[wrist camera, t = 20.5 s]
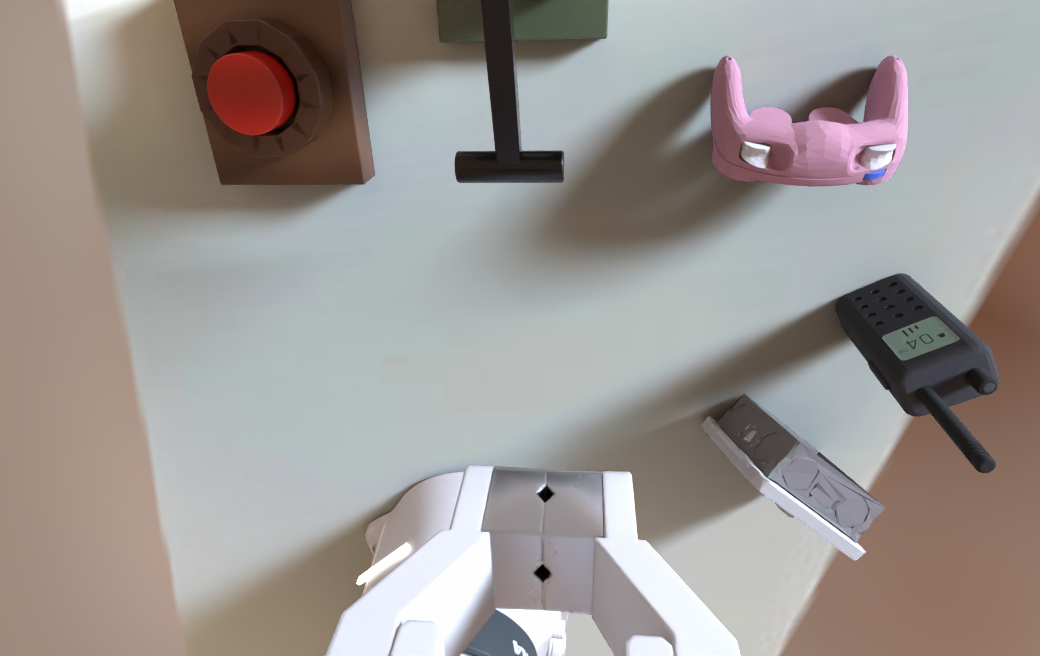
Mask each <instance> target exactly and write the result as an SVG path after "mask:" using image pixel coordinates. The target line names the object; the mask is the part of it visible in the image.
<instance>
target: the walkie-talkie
mask: <svg viewBox="0 0 1040 656" xmlns="http://www.w3.org/2000/svg"><path fill="white" fill-rule="evenodd" d="M836 311H837V314H838V316H839V319H840V321H841V324H842V326H843V328H844V331H845V333H846V334H847V335H848V337H849V338H850V339H851V341H852V342H853V343H854V345H855V346H856V347H857V349H858V350H859V351H860V353H861V354H862V355H863V357H864V358H865V359H866V360H867V362H868V365H869V367H870V369H871V371H872V372H873V373H874V375H875V376H876V377H877V379H878V380H879V381H880V383H881V384H882V385H883V387H884V388H885V389H886V390H889V391H890V392H891V394H892V395H893V396H894V398H895V399H896V400H897V402H898V403H899V404H900V406H901V407H902V408H903V410H904V411H905V412H906V413H907V414H909V415H911V416H923V415H926V414H930V413H931V414H932V416H933V417H934V418H935V419H936V421H937V422H938V423H939V424H940V425H941V427H942V428H943V429H944V431H945V432H946V433H947V434H948V436H949V437H950V438H951V439H952V440H953V441H954V443H955V444H956V445H957V447H958V448H959V449H960V450H961V452H963V454H964V455H965V457H966V458H967V459H968V460H969V461H970V463H971V464H972V465H973V466H974V467H975V469H976V470H977V471H979V472H981V473H988V472H991V471H992V470H994V468H995V467H996V462H995V460H994V459H993V458H992V457H991V456H990V455H989V454H988V452H987V451H986V450H985V449H984V448H983V447H982V445H981V444H980V443H979V442H978V441H977V440H976V438H975V437H974V436H973V435H972V434H971V433H970V432H969V430H968V429H967V428H966V427H965V426H964V425H963V423H962V422H961V421H960V420H959V419H958V418H957V417H956V415H955V414H954V413H953V412H952V411H951V410H950V408H949V407H950V406H953V405H956V404H959V403H961V402H964V401H967V400H970V399H973V398H976V397H979V396H982V395H987V394H991V393H993V392H994V391H995V390H996V389H997V387H998V384H999V375H998V371H997V368H996V365H995V362H994V358H993V355H992V352H991V349H990V348H989V346H987V344H985V343H984V342H983V341H982V340H981V339H980V338H979V337H978V336H977V335H975V334H974V333H973V332H972V331H971V330H970V329H969V328H968V327H966V326H965V325H964V324H963V323H962V322H961V321H960V320H958V319H957V318H956V317H955V316H954V315H953V314H952V313H951V312H949V311H948V310H947V309H946V308H945V307H944V306H943V305H942V304H940V303H939V302H938V301H937V300H936V299H935V298H934V297H933V296H931V295H930V294H929V293H928V292H927V291H926V290H925V289H923V288H922V287H921V286H920V285H919V284H918V283H917V282H916V281H914V280H913V279H912V278H911V277H910V276H908V275H906V274H896V275H893V276H891V277H888V278H886V279H884V280H881V281H879V282H876V283H874V284H872V285H869V286H867V287H864V288H862V289H860V290H857V291H855V292H852V293H850V294H848V295H845V296H843V297H842V298H840V299H839V300H838V301H837V303H836Z"/></svg>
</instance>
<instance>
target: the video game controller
mask: <svg viewBox="0 0 1040 656" xmlns="http://www.w3.org/2000/svg"><path fill="white" fill-rule="evenodd" d="M710 106H711V127H712V137H713V147H714V148H713V153H712V164H713V166H714V167H715V169H716V170H717V171H719V172H720V173H721V174H723V175H724V176H727V177H729V178H731V179H734V180H738V181H744V182H752V181H759V180H762V181H766V182H772V183H778V184H785V185H797V186H835V185H847V184H852V183H856V184H861V185H875V184H879V183H883V182H885V181H886V180H888V179H889V178H890V177H891V176H892V175H893V173H894V171H895V169H896V167H897V166H898V164H899V162H900V160H901V158H902V156H903V154H904V148H905V145H906V140H907V132H908V85H907V73H906V69H905V67H904V65H903V63H902V61H901V60H900V59H899V58H898V57H896V56H887V57H886V58H885V59H884V60H883V61H882V62H881V63H880V65H879V66H878V68H877V70H876V72H875V74H874V76H873V78H872V81H871V84H870V87H869V91H868V96H867V101H866V106H865V113H864V122H863V123H858V122H857V121H855V120H854V119H853V118H852V117H850V116H849V115H848V114H847V113H846V112H844V111H842V110H840V109H837V108H832V107H822V108H818V109H815V110H813V111H812V112H811V113H810V115H809V117H808V120H807V121H806V122H798V123H792V120H791V117H790V115H789V114H788V113H787V112H785V111H783V110H780V109H778V108H773V107H760V108H757V109H755V110H753V111H752V113H751V114H750V115H749V116H748V114H747V111H746V108H745V104H744V100H743V93H742V83H741V73H740V70H739V67H738V65H737V63H736V61H735V60H734V58H732V57H731V56H725V57H723V58H722V59H721V60H720V62H719V63H718V65H717V67H716V69H715V72H714V75H713V81H712V88H711V100H710Z"/></svg>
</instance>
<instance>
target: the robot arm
mask: <svg viewBox="0 0 1040 656" xmlns="http://www.w3.org/2000/svg"><path fill="white" fill-rule="evenodd" d="M365 540H366V542H367V545H368V547H369V549H370V551H371V553H372V555H373V561H372V564H371V567H370V569H369V570H367V571H366V572H365V573H363V574H362V575H360V576H359V578H358V580H357V584H358V585H361V584H362V583H363V582H365V581H366V580H367V581H366V584H365V588H364V591H363V594H362V597H360V598H359V599H358V600H357V601H356V602H354V603H353V604H352V605H351V606H350V607H349V608H347V609H346V610H345V611H344V612H343V613H342V615H341V617H340V620H339V622H338V625H337V627H336V630H335V632H334V635H333V637H332V640H331V642H330V645H329V647H328V650H327V652H326V655H325V656H564V653H565V645H566V632H564V629H565V625H566V621H567V618H568V615H569V613H578V614H589V615H592V618H593V620H594V621H595V623H596V625H597V626H598V628H599V630H600V632H601V633H602V635H603V637H604V638H605V640H606V642H607V643H608V645H609V647H610V648H611V650H612V652H613V653H614V655H615V656H740V652H739V648H738V643H737V640H736V639H735V638H734V637H733V635H732V634H731V633H730V632H729V631H728V630H727V629H726V628H725V627H724V626H723V624H722V623H721V622H720V621H719V620H718V619H717V618H716V617H715V616H714V615H713V613H712V612H711V611H710V610H709V609H708V608H707V607H706V606H705V605H704V604H703V602H702V601H701V600H700V599H699V598H698V597H697V596H696V595H695V594H694V593H693V591H692V590H691V589H690V588H689V587H688V586H687V585H686V584H685V583H684V582H683V580H682V579H681V578H680V577H679V576H678V575H677V574H676V573H675V572H674V571H673V569H672V568H671V567H670V566H669V565H668V564H667V563H666V562H665V561H664V560H663V558H662V557H661V556H660V555H659V554H658V553H657V552H656V551H655V550H654V549H653V547H652V546H651V545H650V544H649V543H648V542H647V541H646V540H638V538H637V527H636V516H635V505H634V494H633V484H632V475H631V474H630V472H614V471H603V472H595V471H567V470H544V469H529V468H514V467H498V466H495V467H491V466H476V465H468V466H467V468H466V469H465V471H464V472H455V473H448V474H442V475H438V476H435V477H432V478H429V479H427V480H425V481H422V482H421V483H419V484H417V485H416V486H414V487H413V488H411V489H410V490H409V491H408V492H407V493H406V494H405V495H404V496H403V497H402V498H401V500H400V501H399V502H398V504H397V505H396V506H395V508H394V509H393V510H392V511H391V512H390V513H388V514H385V515H383V516H381V517H379V518H377V519H375V520H374V521H372V522H371V523H370V524H369V525H368V527H367V531H366V534H365Z"/></svg>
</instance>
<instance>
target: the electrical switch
mask: <svg viewBox="0 0 1040 656" xmlns="http://www.w3.org/2000/svg"><path fill="white" fill-rule="evenodd" d="M701 427H702V428H703V430H704V431H705V432H706V433H707V435H708V436H709V437H710V439H711V440H712V441H713V442H714V443H715V444H716V445H717V447H718V448H719V449H720V450H721V451H722V452H723V453H724V455H725V456H726V457H727V458H728V459H729V460H730V462H731V463H732V464H733V465H734V466H735V467H736V468H737V469H738V471H739V472H740V473H741V474H742V475H743V476H744V477H745V478H746V479H747V480H748V481H749V482H750V483H751V484H752V485H753V486H754V487H755V488H756V489H757V490H759V491H760V492H761V493H763V494H764V495H765V496H767V497H768V498H770V499H771V500H772V501H774V502H775V504H776V505H777V507H778V508H779V509H780V510H782V511H783V512H784V513H785V514H787V515H788V516H789V517H792V518H793V517H796V518H797V519H798V520H800V521H801V522H802V523H804V524H805V525H806V526H808V527H809V528H811V529H812V530H813V531H815V532H816V533H817V534H819V535H820V536H821V537H823V538H824V539H826V540H827V541H828V542H830V543H831V544H832V545H834V546H835V547H836V548H838V549H839V550H841V551H842V552H843V553H845V554H846V555H847V556H849V557H850V558H852V559H853V560H857V559H858V558H860V557H861V556H862V555H863V554H864V553H866V551H865V550H864V549H863V548H862V547H861V546H860V545H859V544H858V543H857V541H858V539H859V538H860V536H861V535H862V534H863V533H864V532H865V531H866V530H868V527H869V526H870V524H871V522H872V521H873V520H874V519H875V518H876V517H877V516H878V515H879V514H880V513H881V512H882V511H883V510H884V509H885V507H884V506H883V505H882V504H880V503H879V502H878V501H877V500H876V499H875V498H873V497H872V496H871V495H870V494H869V493H867V492H866V491H865V490H864V489H863V488H861V487H860V486H859V485H858V484H857V483H856V482H854V481H853V480H852V479H851V478H850V477H848V476H847V475H846V474H845V473H844V472H842V471H841V470H840V469H839V468H838V467H836V466H835V465H834V464H833V463H832V462H831V461H829V460H828V459H827V458H826V457H825V456H823V455H822V454H821V453H820V452H819V453H817V452H818V451H817V450H816V449H815V448H813V447H812V446H811V445H810V444H808V443H807V442H806V441H804V440H803V439H802V438H801V437H799V436H798V435H797V434H795V433H794V432H793V431H791V430H790V429H789V428H788V427H786V426H785V425H784V424H782V423H781V422H780V421H779V420H777V419H776V418H775V417H773V416H772V415H771V414H769V413H768V412H767V411H766V410H764V409H763V408H762V407H760V406H759V405H758V404H757V403H755V402H754V401H753V400H751V399H750V398H749V397H748V396H746V395H745V394H744V395H743V396H742V398H741V399H740V400H739V401H738V402H737V403H736V404H735V405H734V407H732V408H731V409H730V410H728V411H727V412H726V413H725V414H724V416H723V417H722V418H721V419H720V420H718V421H717V422H716V421H715V420H713V419H712V418H711V417H709V416H708V417H707V418H706V419H705V421H704V422H703V423H702V425H701ZM816 453H817V454H816Z"/></svg>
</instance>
